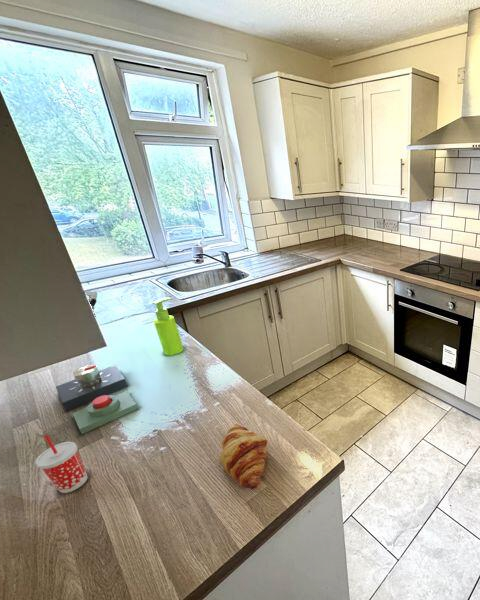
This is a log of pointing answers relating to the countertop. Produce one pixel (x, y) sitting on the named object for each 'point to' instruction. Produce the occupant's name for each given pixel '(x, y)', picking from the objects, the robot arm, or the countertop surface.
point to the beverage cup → (62, 466)
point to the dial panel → (91, 388)
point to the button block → (104, 412)
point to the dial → (87, 376)
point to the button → (101, 401)
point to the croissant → (244, 456)
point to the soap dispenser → (167, 329)
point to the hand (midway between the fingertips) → (73, 330)
